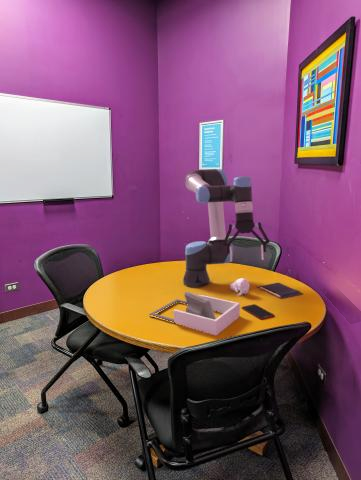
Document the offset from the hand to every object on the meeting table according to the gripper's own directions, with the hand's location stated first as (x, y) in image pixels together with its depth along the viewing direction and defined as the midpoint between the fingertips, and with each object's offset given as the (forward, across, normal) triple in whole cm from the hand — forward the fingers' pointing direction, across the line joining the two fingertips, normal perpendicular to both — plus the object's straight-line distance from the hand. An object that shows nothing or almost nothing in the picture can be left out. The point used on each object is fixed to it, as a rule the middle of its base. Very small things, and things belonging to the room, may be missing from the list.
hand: (246, 260), depth 150 cm
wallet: (+20, +16, +31) cm, 41 cm away
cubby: (+24, -19, -8) cm, 31 cm away
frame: (+22, -33, -1) cm, 40 cm away
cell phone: (+24, +3, +2) cm, 24 cm away
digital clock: (+24, -22, -6) cm, 33 cm away
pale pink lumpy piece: (+19, -5, +26) cm, 33 cm away
